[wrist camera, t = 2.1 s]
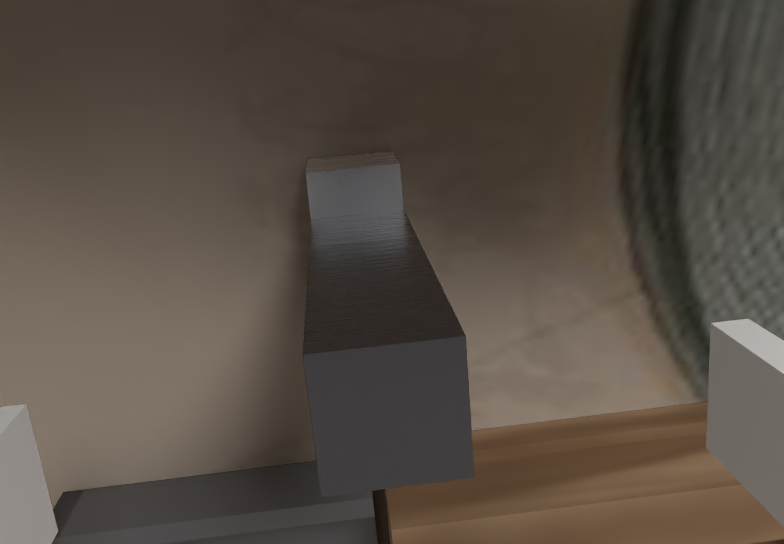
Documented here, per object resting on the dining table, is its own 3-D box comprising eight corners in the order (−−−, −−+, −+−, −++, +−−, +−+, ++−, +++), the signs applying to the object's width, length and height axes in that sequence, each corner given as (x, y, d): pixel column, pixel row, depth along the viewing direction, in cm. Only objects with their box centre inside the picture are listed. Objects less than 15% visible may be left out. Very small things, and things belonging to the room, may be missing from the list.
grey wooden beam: (307, 159, 27) (292, 276, 13) (391, 150, 27) (461, 257, 13) (326, 317, 28) (330, 561, 15) (405, 308, 28) (478, 542, 15)
